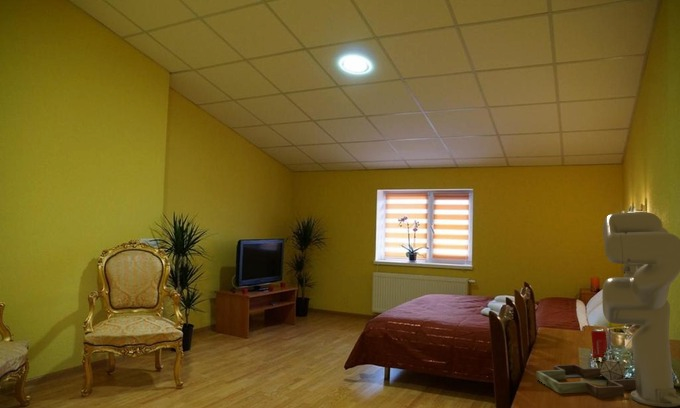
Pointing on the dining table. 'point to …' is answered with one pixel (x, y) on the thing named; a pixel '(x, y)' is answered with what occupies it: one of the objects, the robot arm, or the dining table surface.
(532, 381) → the dining table surface
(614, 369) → the game die
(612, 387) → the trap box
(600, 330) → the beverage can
